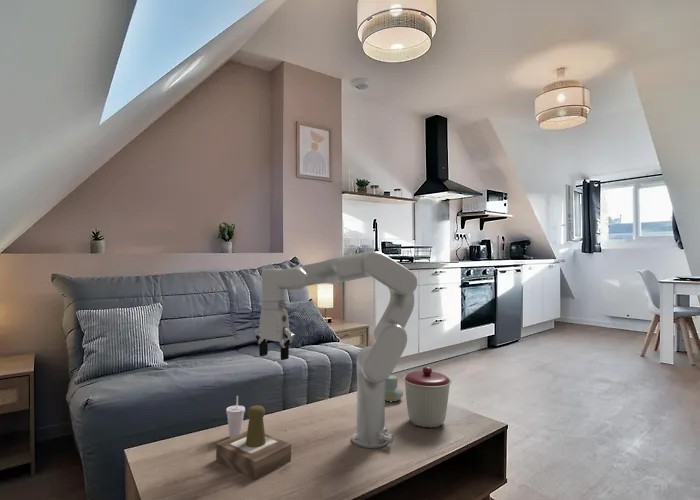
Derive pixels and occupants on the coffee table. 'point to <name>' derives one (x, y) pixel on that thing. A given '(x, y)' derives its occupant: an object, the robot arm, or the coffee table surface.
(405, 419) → the coffee table surface
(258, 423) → the cork
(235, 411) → the smoothie
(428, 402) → the canister
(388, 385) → the air freshener
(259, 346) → the robot arm
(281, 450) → the pedestal
